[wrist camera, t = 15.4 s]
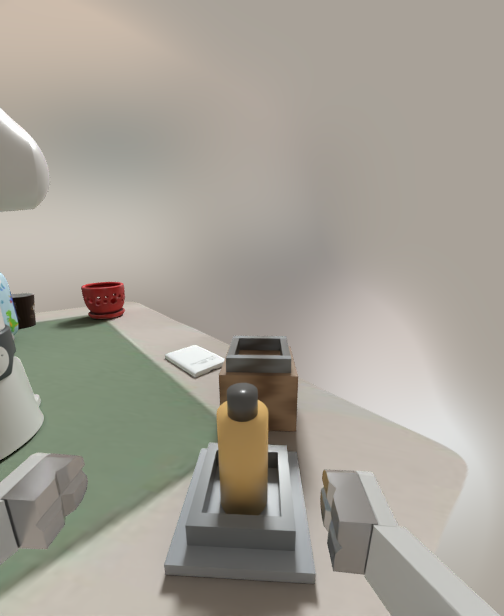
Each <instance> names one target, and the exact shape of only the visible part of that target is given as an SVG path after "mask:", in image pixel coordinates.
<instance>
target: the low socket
mask: <svg viewBox="0 0 504 616" xmlns="http://www.w3.org/2000/svg"><path fill="white" fill-rule="evenodd" d="M164 567H165V575H179V576H196V577H212V578H228V579H245V580H261V581H277V582H293V583H310V584H315V574H316V573H315V567H314V561H313V554H312V548H311V541H310V535H309V528H308V522H307V516H306V509H305V503H304V496H303V490H302V484H301V477H300V471H299V464H298V458H297V452H289V451H287V445H268V498H267V504H266V506H265V508H264V510H263V511H262V512H261V514H259V515H240V514H226V513H225V511H224V510H223V508H222V505H221V499H220V477H219V454H218V443H209V445H208V449H202V448H201V451H200V454H199V458H198V461H197V464H196V467H195V470H194V473H193V476H192V479H191V483H190V486H189V489H188V492H187V495H186V498H185V501H184V504H183V508H182V511H181V514H180V517H179V520H178V523H177V526H176V529H175V533H174V536H173V539H172V542H171V545H170V548H169V551H168V554H167V557H166V561H165V564H164Z"/></svg>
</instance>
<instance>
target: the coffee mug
mask: <svg viewBox="0 0 504 616" xmlns="http://www.w3.org/2000/svg"><path fill="white" fill-rule="evenodd" d="M11 296H12V299H13V303H14V307H15V311H16V315H17V319H18V329H21V328H27V327H31V326H34V325H36V321H35V304H34V294H32V293H22V294H11Z"/></svg>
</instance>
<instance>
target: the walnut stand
mask: <svg viewBox="0 0 504 616" xmlns="http://www.w3.org/2000/svg"><path fill="white" fill-rule="evenodd" d="M236 383H249V384H252V385H254V386H255V387H256V388H257V389H258V400H259V401H261V402H263V403H264V404H265V405H266V407H267V409H268V431H296V417H297V391H298V374H297V371H296V367H295V363H294V359H293V355H292V352H291V347H289V346H288V343H287V338H286V336H284V337H283V336H233V339H232V342H231V345H230V346H229V349H228V352H227V354H226V357H225V360H224V363H223V365H222V368H221V371H220V373H219V389H220V405H222V404H223V403H224V402H226V401H227V389H228V388H229V387H230V386H231V385H233V384H236Z"/></svg>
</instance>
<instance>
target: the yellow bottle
mask: <svg viewBox="0 0 504 616" xmlns="http://www.w3.org/2000/svg"><path fill="white" fill-rule="evenodd" d="M217 432H218V454H219V477H220V499H221V505H222V508H223V510H224V511H225V513H226V514H240V515H259V514H261V512H262V511H263V510H264V508H265V506H266V504H267V498H268V409H267V407H266V405H265V404H264V403H263V402H261V401H259V400H258V389H257V388H256V387H255V386H254V385H252V384H249V383H236V384H233V385H231V386H230V387H229V388H228V389H227V401H226V402H224V403H223V404H222V405H220V407H219V408H218V410H217Z"/></svg>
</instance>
